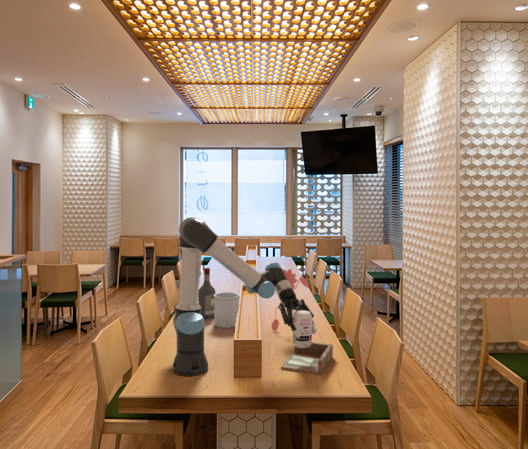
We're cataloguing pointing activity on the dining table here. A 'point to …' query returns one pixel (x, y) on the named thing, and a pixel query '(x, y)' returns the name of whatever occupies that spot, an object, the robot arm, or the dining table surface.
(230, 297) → the utensil holder
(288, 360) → the corner tray
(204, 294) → the liquor
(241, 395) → the dining table surface
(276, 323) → the pink flat figure
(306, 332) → the supplement can
